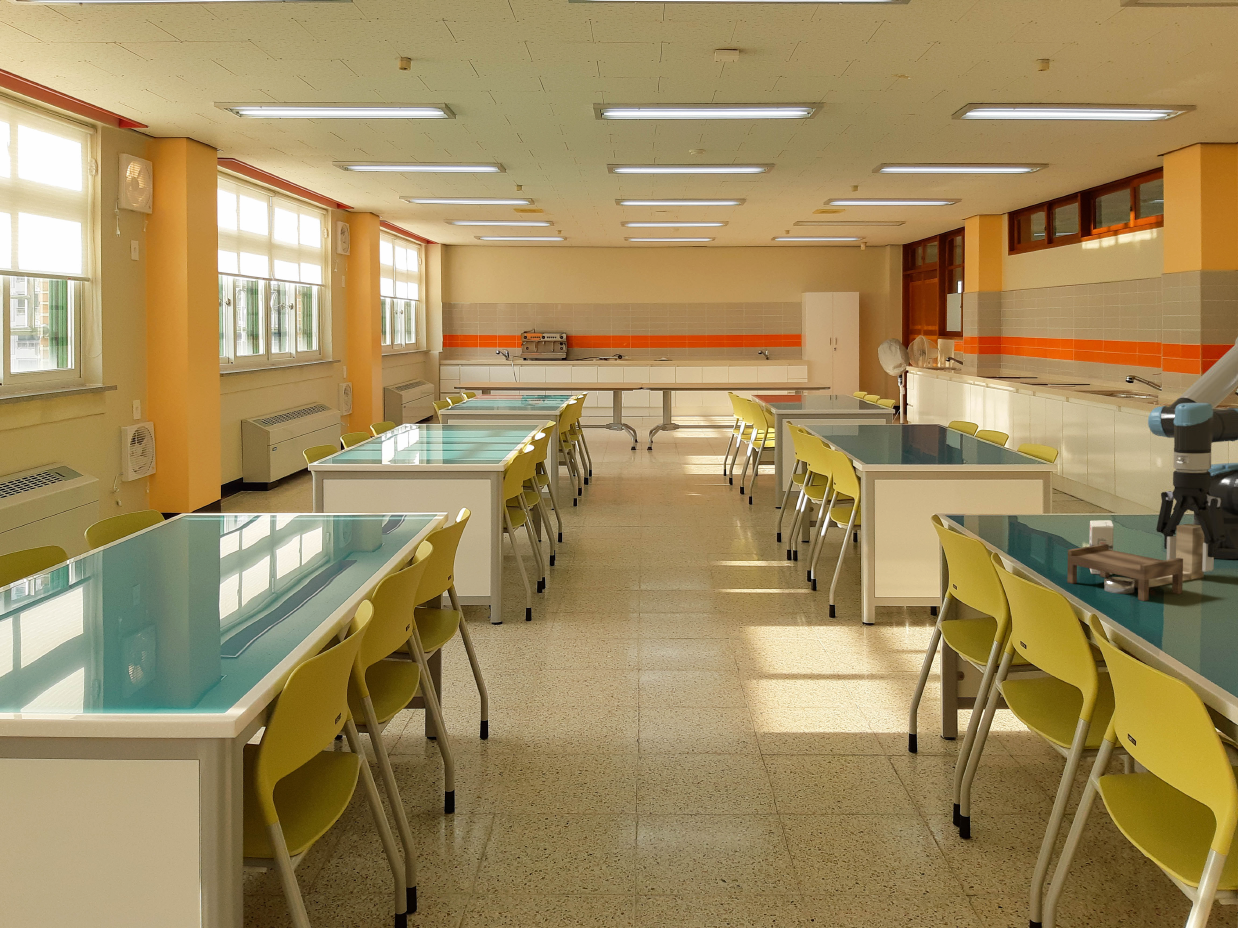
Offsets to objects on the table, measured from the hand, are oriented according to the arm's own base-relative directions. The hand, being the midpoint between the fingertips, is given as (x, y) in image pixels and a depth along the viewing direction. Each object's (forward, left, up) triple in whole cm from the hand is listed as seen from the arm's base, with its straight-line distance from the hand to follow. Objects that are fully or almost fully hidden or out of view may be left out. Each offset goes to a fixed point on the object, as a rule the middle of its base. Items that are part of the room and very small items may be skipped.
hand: (1189, 566), depth 230 cm
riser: (+20, -1, -2) cm, 21 cm away
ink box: (+11, -15, -3) cm, 19 cm away
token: (+23, 0, -3) cm, 23 cm away
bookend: (+8, 0, -2) cm, 8 cm away
